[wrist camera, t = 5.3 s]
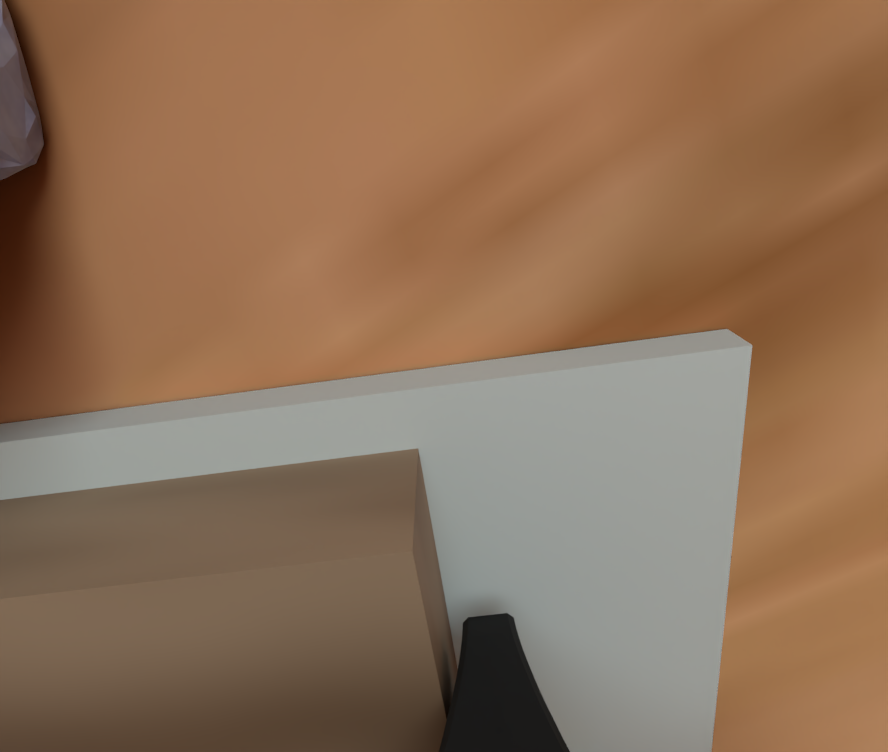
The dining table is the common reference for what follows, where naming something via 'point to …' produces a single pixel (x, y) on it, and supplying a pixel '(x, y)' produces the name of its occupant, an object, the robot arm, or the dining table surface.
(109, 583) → the square tan tile
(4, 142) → the mineral
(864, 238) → the dining table surface
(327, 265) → the dining table surface
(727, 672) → the dining table surface
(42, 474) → the jig board
